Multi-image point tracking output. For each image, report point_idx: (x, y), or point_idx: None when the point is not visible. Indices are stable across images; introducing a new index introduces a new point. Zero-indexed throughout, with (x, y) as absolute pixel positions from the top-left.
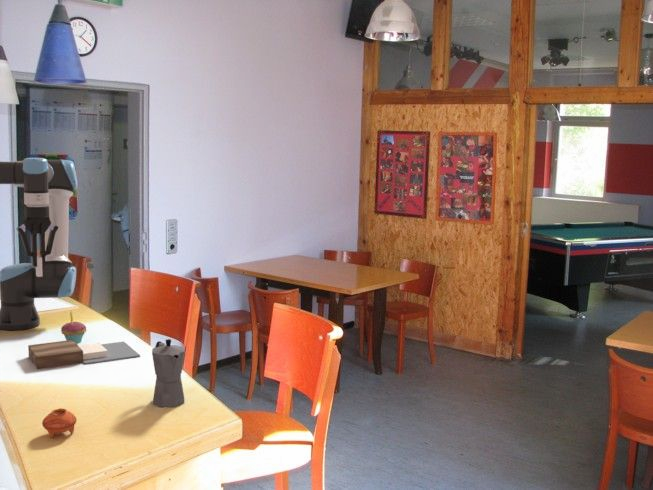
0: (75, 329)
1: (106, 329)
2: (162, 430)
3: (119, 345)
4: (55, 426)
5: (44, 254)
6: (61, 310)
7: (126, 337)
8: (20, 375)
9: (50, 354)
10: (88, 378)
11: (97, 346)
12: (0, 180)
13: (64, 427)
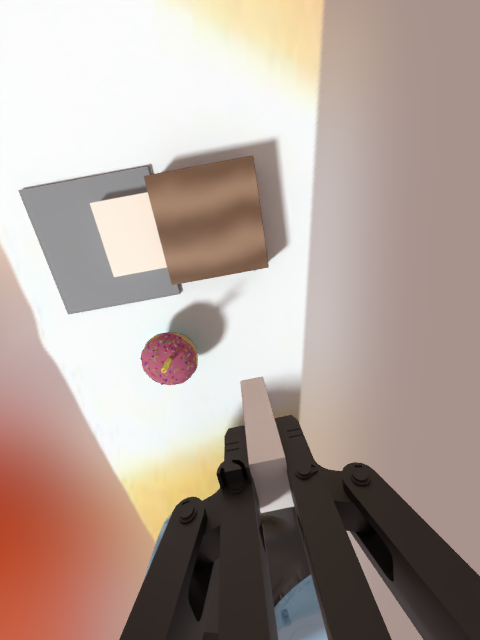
0: (163, 338)
1: (113, 415)
2: None
3: (75, 286)
4: None
5: (228, 491)
6: None
7: (67, 351)
8: (286, 129)
9: (221, 168)
10: (136, 39)
11: (116, 246)
12: None
13: None
